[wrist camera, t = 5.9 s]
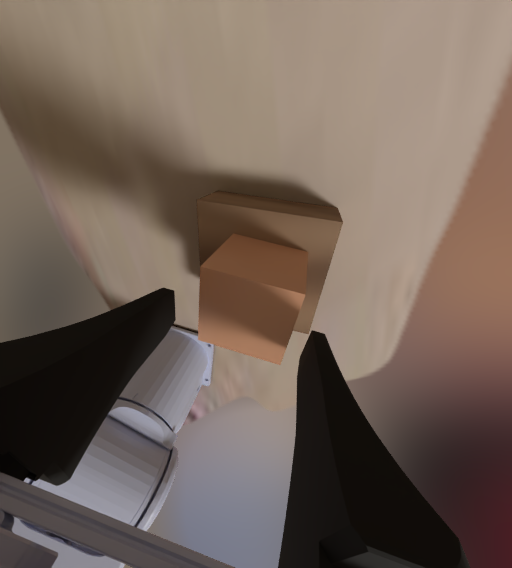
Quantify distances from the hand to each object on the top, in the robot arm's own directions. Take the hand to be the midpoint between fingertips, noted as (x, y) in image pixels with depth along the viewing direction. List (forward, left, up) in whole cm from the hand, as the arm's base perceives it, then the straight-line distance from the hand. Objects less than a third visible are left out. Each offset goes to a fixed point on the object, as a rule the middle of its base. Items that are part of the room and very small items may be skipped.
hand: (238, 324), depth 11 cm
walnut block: (0, 0, -9) cm, 9 cm away
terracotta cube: (0, 0, -5) cm, 5 cm away
